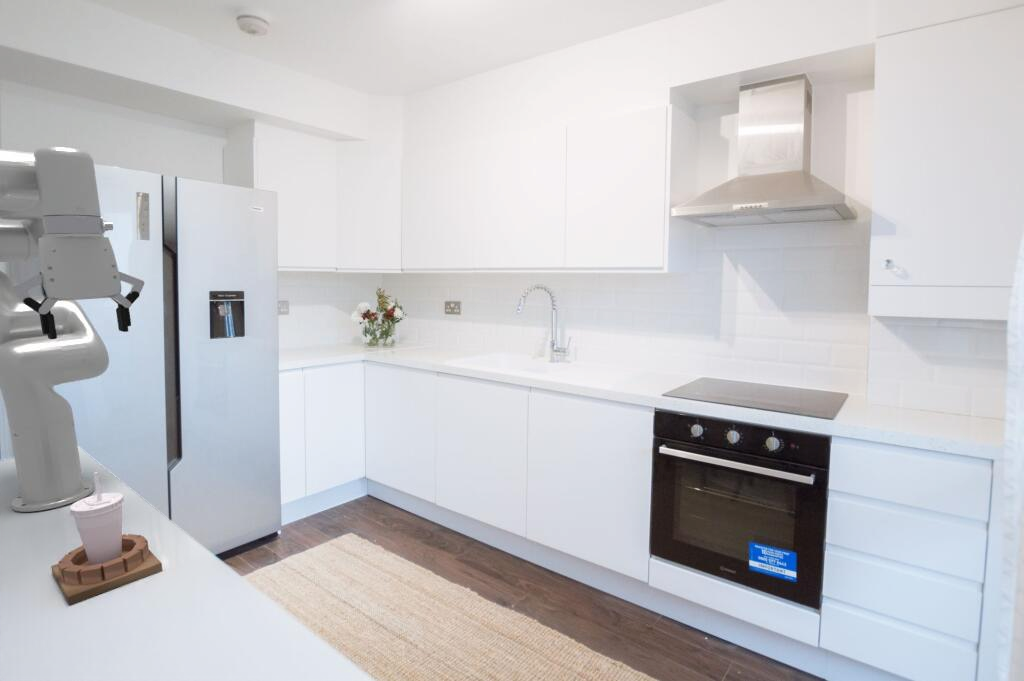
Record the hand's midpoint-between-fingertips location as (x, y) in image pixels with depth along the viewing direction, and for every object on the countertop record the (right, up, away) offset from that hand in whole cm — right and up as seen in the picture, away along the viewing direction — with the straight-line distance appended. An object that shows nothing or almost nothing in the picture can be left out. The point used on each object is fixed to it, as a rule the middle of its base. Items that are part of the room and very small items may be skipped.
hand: (89, 334), depth 94 cm
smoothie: (+10, -34, -10) cm, 37 cm away
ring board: (+10, -35, -10) cm, 38 cm away
